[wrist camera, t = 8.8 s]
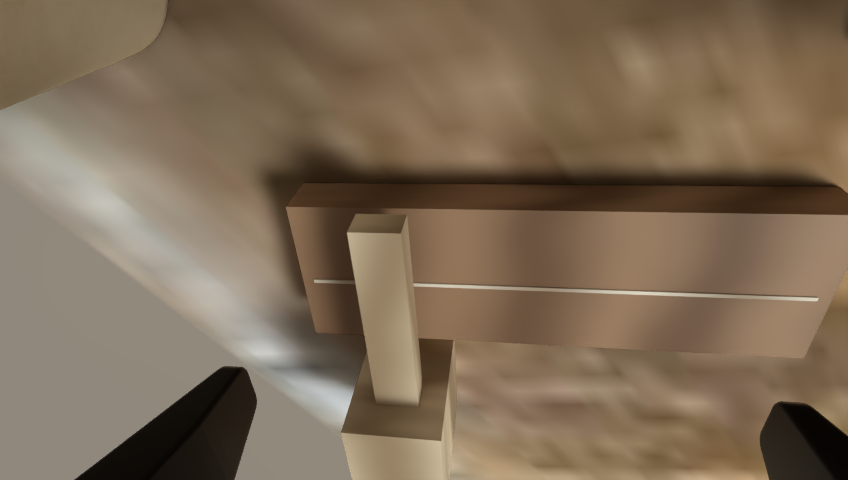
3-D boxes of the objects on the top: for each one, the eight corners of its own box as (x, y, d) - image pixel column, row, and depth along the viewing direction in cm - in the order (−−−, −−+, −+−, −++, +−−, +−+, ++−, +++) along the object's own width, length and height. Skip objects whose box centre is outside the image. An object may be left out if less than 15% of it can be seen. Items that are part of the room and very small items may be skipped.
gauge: (448, 172, 20) (428, 262, 15) (457, 403, 27) (446, 514, 22) (349, 171, 20) (299, 258, 16) (384, 398, 28) (358, 505, 23)
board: (840, 186, 18) (874, 216, 16) (781, 323, 22) (804, 359, 20) (302, 183, 21) (285, 207, 19) (328, 303, 25) (315, 333, 23)
